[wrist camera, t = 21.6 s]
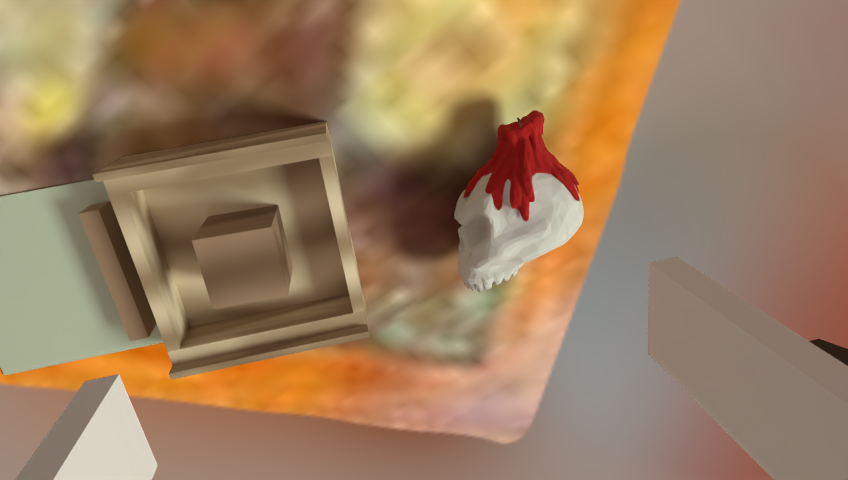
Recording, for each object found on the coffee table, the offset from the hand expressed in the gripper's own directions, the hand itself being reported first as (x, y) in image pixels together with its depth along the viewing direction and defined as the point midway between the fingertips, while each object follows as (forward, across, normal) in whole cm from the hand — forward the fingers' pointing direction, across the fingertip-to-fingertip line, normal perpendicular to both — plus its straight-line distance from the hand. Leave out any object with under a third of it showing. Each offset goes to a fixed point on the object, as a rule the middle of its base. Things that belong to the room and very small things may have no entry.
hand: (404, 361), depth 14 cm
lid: (+37, -27, -8) cm, 47 cm away
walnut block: (+36, -11, -8) cm, 38 cm away
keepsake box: (+37, -10, -8) cm, 39 cm away
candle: (+37, +13, -8) cm, 40 cm away
